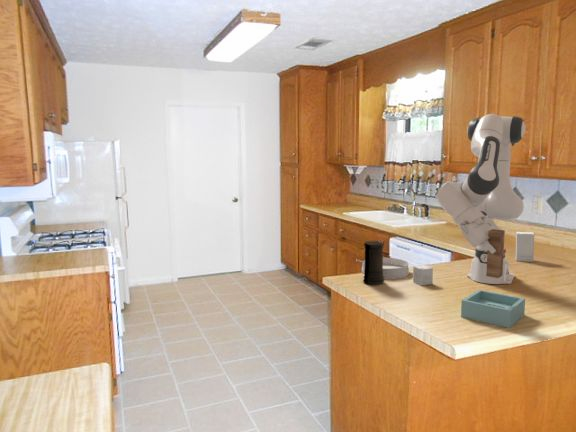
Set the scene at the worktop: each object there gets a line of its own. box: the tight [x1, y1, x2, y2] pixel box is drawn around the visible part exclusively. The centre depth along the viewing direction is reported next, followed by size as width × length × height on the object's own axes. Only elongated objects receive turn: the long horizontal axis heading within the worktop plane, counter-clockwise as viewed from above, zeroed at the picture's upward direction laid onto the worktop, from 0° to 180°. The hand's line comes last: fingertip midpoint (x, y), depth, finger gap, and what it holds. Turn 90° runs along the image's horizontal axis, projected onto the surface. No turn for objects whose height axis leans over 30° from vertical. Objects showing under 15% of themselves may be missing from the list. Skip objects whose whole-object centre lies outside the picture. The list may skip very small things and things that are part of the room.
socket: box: [460, 289, 526, 329], centre depth 159 cm, size 16×16×6 cm
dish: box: [361, 257, 410, 280], centre depth 218 cm, size 22×22×5 cm
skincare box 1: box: [412, 264, 434, 287], centre depth 200 cm, size 6×6×7 cm
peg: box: [486, 229, 506, 278], centre depth 157 cm, size 4×4×16 cm
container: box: [362, 240, 385, 286], centre depth 201 cm, size 9×9×18 cm
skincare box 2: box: [515, 231, 535, 263], centre depth 236 cm, size 8×6×15 cm
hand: (497, 250), depth 156 cm, fingers closed on peg, 4 cm apart
